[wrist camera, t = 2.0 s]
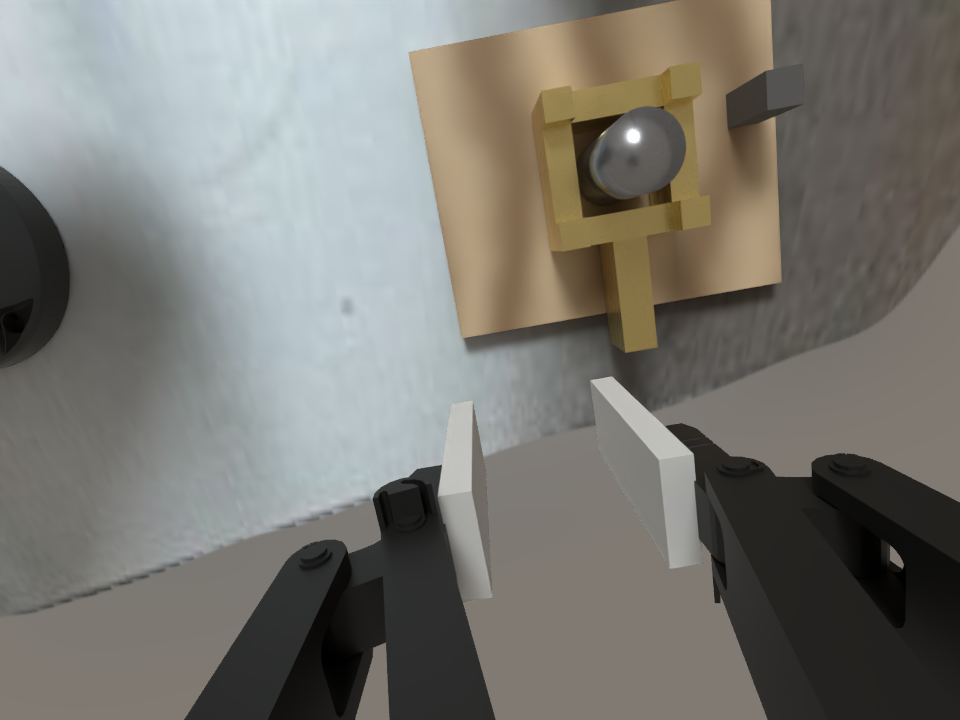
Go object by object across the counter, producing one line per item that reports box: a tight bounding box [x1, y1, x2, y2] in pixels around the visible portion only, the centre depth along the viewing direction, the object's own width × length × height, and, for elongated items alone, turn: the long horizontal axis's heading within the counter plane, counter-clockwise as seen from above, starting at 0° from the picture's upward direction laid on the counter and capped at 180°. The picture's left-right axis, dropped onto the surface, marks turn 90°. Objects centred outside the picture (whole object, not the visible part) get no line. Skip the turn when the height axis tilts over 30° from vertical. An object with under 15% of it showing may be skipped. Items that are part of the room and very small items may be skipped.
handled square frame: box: [531, 61, 711, 353], centre depth 30 cm, size 15×8×5 cm, turn 10°
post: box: [576, 106, 686, 206], centre depth 29 cm, size 4×4×9 cm
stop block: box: [726, 64, 804, 129], centre depth 29 cm, size 2×2×4 cm
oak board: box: [409, 0, 782, 338], centre depth 33 cm, size 22×18×1 cm
